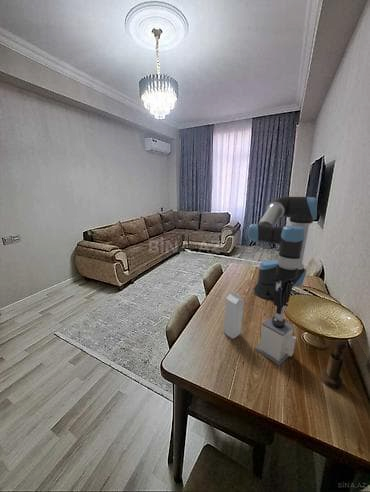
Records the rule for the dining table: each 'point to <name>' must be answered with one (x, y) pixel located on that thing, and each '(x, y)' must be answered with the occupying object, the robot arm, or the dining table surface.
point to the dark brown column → (334, 367)
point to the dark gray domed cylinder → (278, 323)
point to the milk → (233, 315)
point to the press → (276, 342)
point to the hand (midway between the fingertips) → (278, 319)
